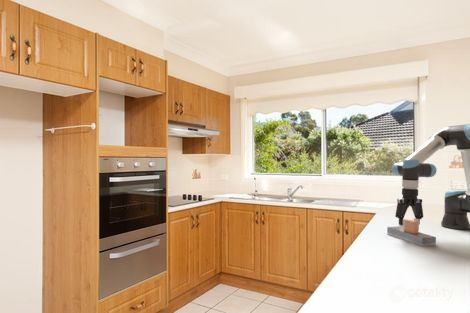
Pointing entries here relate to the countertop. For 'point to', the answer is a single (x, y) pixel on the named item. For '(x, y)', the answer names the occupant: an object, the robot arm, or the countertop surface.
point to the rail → (412, 236)
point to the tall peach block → (411, 226)
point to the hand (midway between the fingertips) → (409, 231)
